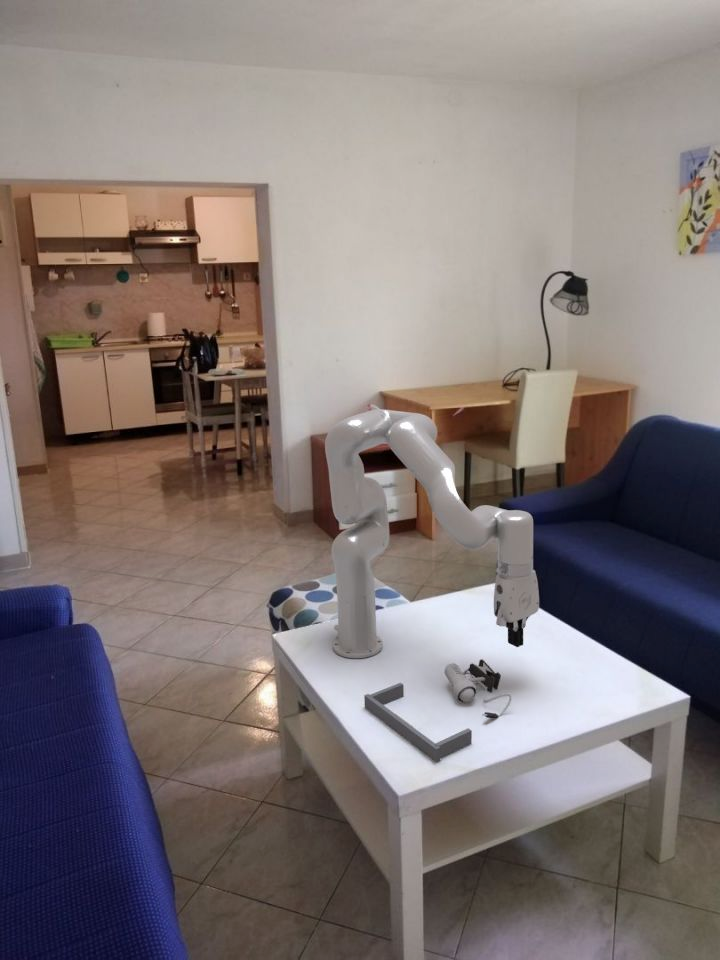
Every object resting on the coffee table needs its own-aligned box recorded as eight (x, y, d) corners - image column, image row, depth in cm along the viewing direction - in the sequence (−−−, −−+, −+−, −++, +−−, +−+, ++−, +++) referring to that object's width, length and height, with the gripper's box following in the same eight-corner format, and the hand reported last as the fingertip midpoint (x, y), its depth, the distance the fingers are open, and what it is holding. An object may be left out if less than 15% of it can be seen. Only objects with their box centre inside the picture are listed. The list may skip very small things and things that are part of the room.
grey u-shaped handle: (364, 707, 159) (364, 695, 158) (399, 693, 164) (399, 681, 163) (436, 763, 139) (436, 749, 139) (473, 745, 144) (473, 731, 144)
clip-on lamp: (520, 726, 156) (482, 670, 171) (526, 703, 153) (488, 648, 168) (470, 733, 152) (436, 675, 167) (476, 709, 149) (441, 653, 164)
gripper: (503, 580, 152) (503, 660, 157) (552, 563, 160) (551, 640, 165) (478, 570, 158) (479, 648, 163) (526, 554, 167) (526, 629, 171)
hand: (515, 644), depth 164 cm, fingers closed
